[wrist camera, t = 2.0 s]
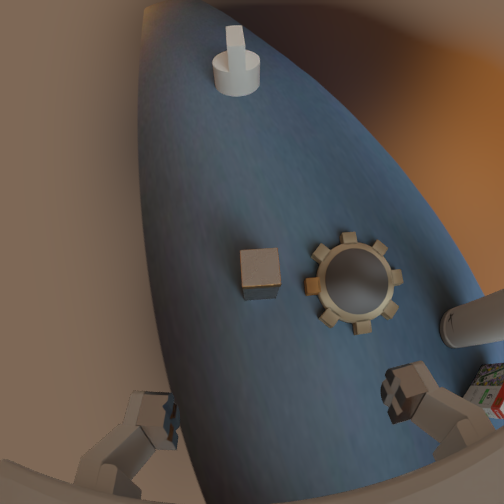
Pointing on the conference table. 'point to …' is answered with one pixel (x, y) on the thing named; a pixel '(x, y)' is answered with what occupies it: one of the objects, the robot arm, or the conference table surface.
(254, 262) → the link block
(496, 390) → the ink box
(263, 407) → the conference table surface
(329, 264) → the toothed wheel
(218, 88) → the base with upright slab
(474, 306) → the travel mug
